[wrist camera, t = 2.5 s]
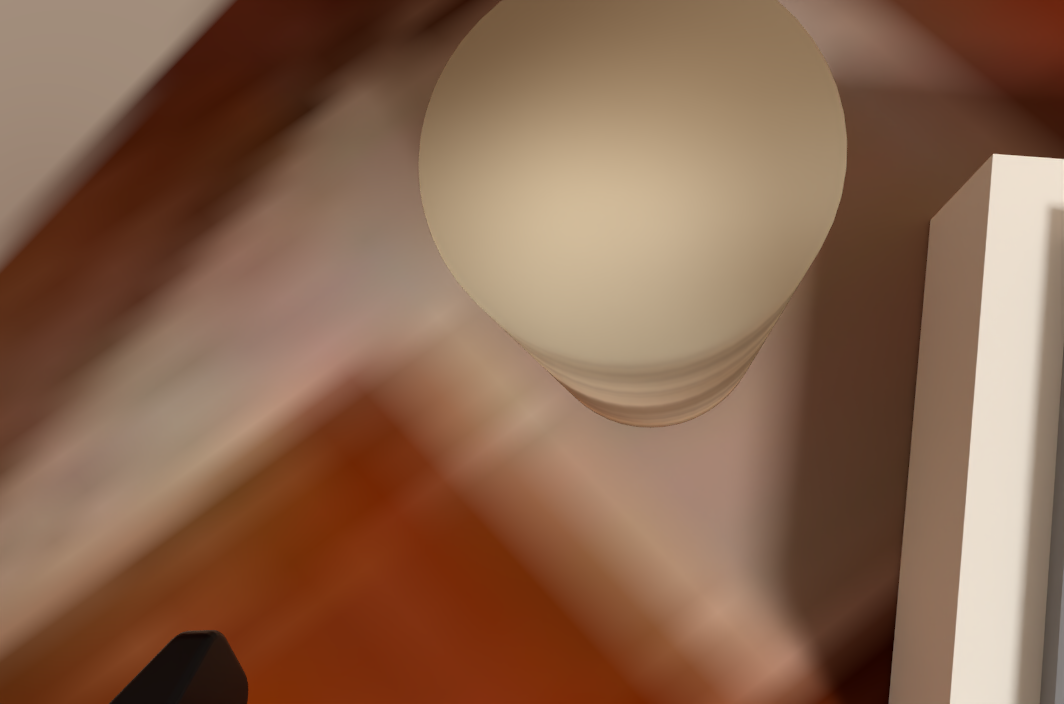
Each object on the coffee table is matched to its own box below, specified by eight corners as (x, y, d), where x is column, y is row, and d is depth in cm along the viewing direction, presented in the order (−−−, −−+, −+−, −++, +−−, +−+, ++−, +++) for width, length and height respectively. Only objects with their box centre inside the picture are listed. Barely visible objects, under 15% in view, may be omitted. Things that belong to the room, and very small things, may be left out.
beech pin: (746, 441, 21) (824, 386, 10) (529, 412, 22) (388, 335, 11) (769, 227, 21) (866, -38, 11) (558, 208, 22) (452, -57, 12)
